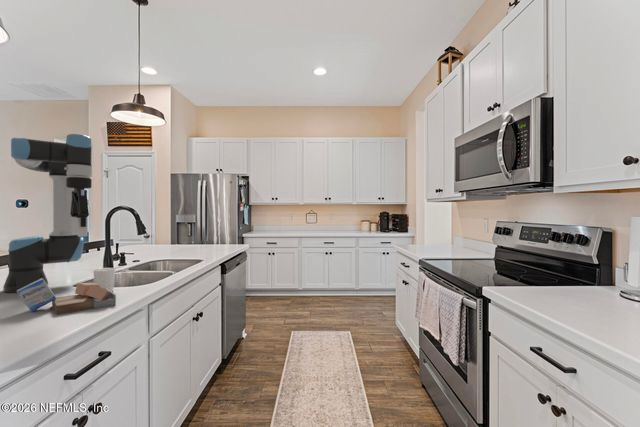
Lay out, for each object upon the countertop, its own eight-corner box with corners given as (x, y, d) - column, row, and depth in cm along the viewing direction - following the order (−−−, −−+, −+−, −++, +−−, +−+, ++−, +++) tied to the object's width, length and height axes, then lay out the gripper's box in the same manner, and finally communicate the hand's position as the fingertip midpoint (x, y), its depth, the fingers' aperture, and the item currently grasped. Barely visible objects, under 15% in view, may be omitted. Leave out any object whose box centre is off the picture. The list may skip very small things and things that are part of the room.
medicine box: (31, 312, 116) (16, 292, 113) (30, 309, 119) (16, 289, 117) (57, 298, 121) (43, 279, 118) (55, 296, 124) (42, 277, 122)
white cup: (104, 294, 141) (104, 271, 141) (88, 293, 142) (88, 270, 142) (119, 290, 148) (119, 268, 148) (104, 289, 150) (104, 267, 150)
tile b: (89, 296, 126) (95, 286, 128) (104, 302, 127) (110, 292, 129) (85, 294, 122) (91, 284, 124) (101, 300, 123) (107, 290, 125)
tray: (85, 300, 131) (85, 290, 131) (106, 297, 136) (106, 287, 136) (93, 308, 121) (93, 297, 121) (115, 304, 126) (115, 294, 126)
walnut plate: (52, 306, 124) (52, 298, 124) (86, 300, 131) (86, 293, 131) (57, 314, 114) (57, 305, 114) (93, 308, 121) (93, 300, 121)
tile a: (74, 293, 128) (77, 283, 128) (89, 292, 133) (92, 282, 134) (83, 295, 126) (85, 285, 127) (97, 294, 132) (100, 284, 132)
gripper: (61, 178, 128) (61, 233, 129) (72, 174, 110) (72, 237, 111) (84, 179, 134) (84, 232, 134) (98, 175, 116) (98, 236, 116)
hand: (79, 235), depth 122 cm, fingers open, 13 cm apart
